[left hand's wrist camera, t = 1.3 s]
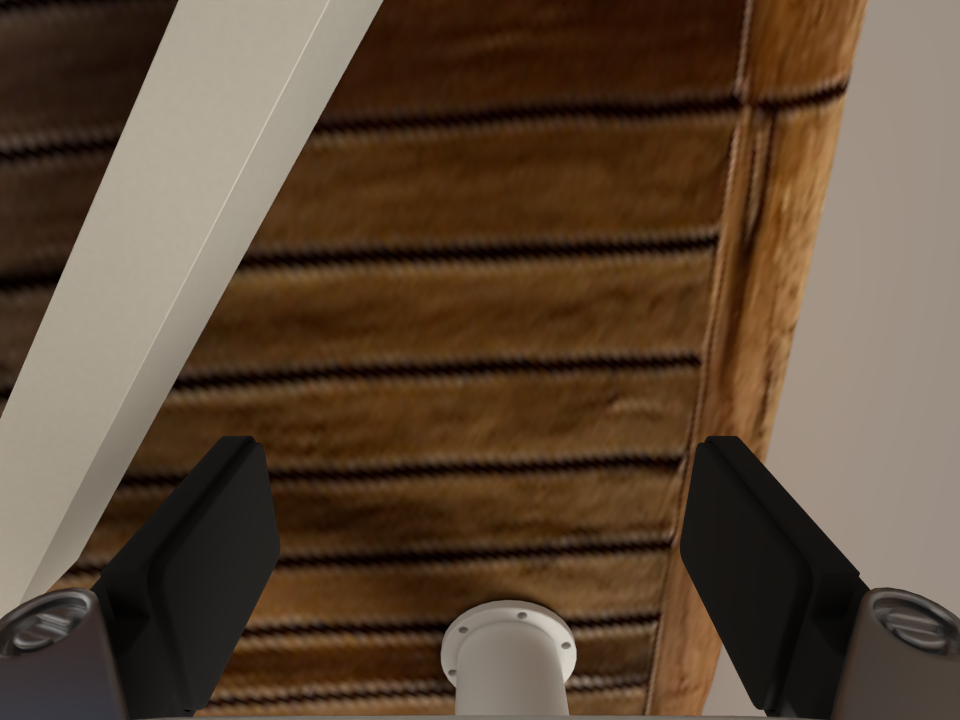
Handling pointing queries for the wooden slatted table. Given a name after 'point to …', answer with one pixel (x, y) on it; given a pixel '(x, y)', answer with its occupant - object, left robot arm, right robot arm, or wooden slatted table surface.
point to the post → (158, 258)
